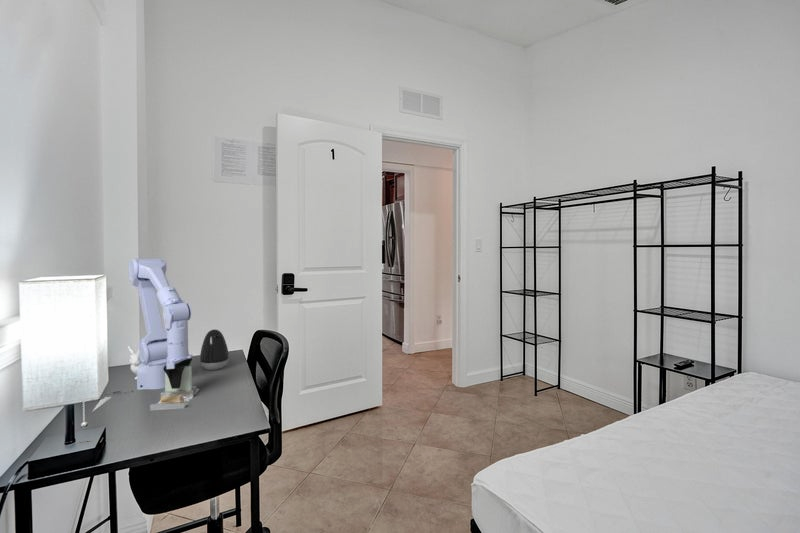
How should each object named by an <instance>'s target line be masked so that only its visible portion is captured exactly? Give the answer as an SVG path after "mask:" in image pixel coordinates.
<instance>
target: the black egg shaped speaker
mask: <svg viewBox="0 0 800 533" xmlns="http://www.w3.org/2000/svg"><path fill="white" fill-rule="evenodd" d="M229 357H230V355H229V349H228V344H227V342H226V339H225V337H224V334H223V333H222V332H221V330H219V329H215V328H214V329H210V330H209V331H207V333H206V334H205V336H204V338H203V342H202V344H201V347H200V354H199V361H200V364H201V365H202V367H203V368H204V369H206V370H208V371H217V370H221V369H224V367H226V365H227V363H228V360H229V359H230V358H229Z"/></svg>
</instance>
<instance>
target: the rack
mask: <svg viewBox="0 0 800 533" xmlns="http://www.w3.org/2000/svg"><path fill="white" fill-rule="evenodd" d="M199 390H200V388H197V386H195V385H194V386H193V385H192V390H186V391H170V392H166V391H165V390H164V391H161V392H160V399H159V401H158V402H157V403H151V404H149V411H160V410H161V411H163V410H177V409H185V408H186V407H187V405H188V404H189V403H190V402H191V400H192V399H193V398H194V397H195V395H196V394H197V393H198V392H199ZM167 395H182V398H184V402H175V403H160V404H158V403H159V402H160V401H161V398H162V397H163V396H167Z"/></svg>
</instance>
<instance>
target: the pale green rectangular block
mask: <svg viewBox="0 0 800 533" xmlns="http://www.w3.org/2000/svg"><path fill="white" fill-rule="evenodd" d="M192 368H193V367H192V365H189V366H185V368H184V370H183V373H182V377H181V385H180V388H177V389H172V388H171V385H170V381H169V378H168V376H167V374H166V373H165V388H164V392H165V391H166V392H170V391H186V390H192V387H193V383H192V382H193V378H192V377H193V375H192Z"/></svg>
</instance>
